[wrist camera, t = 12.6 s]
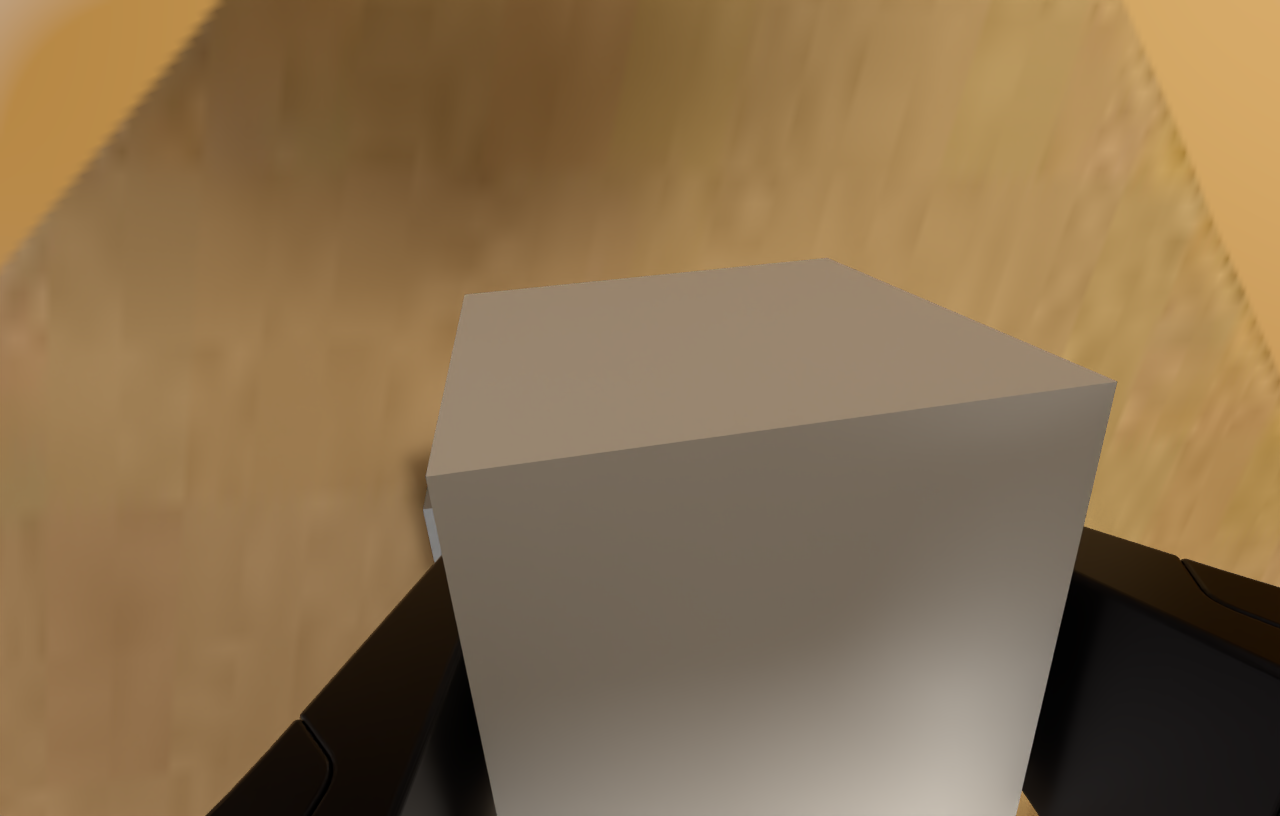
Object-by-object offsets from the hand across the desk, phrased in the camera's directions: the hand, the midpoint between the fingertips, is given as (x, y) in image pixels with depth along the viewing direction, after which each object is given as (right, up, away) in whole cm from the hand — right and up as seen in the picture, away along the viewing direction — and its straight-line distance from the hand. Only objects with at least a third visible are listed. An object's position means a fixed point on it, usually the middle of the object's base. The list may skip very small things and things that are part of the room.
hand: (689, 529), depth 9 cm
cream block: (0, +1, +1) cm, 2 cm away
